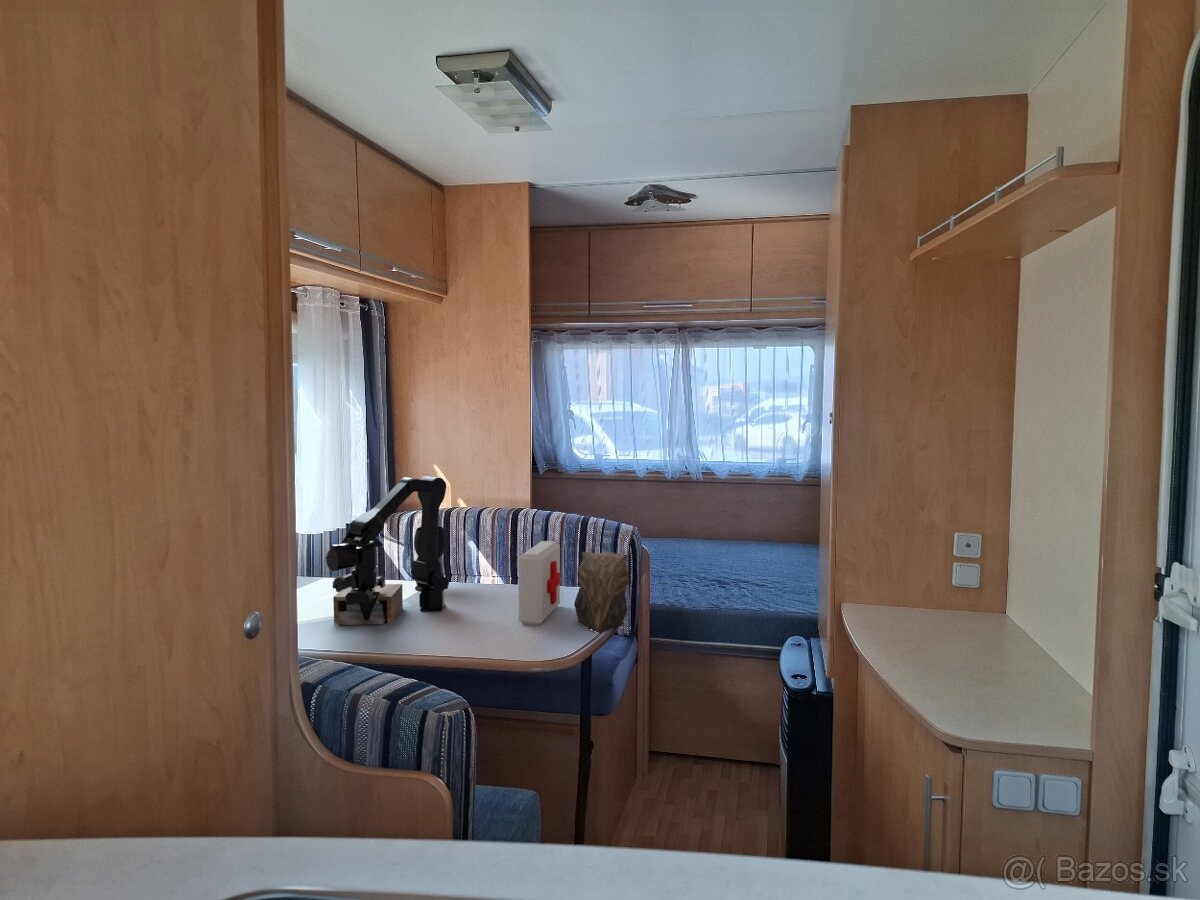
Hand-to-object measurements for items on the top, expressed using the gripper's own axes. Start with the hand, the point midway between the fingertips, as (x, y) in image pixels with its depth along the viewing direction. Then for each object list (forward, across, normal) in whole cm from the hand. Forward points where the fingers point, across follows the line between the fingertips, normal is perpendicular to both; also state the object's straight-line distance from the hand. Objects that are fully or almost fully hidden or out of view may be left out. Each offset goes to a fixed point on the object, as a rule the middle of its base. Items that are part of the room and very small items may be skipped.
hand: (366, 620), depth 208 cm
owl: (+2, +1, +64) cm, 64 cm away
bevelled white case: (+2, -10, +48) cm, 49 cm away
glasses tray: (+1, -8, -2) cm, 9 cm away
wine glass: (+2, -42, +10) cm, 43 cm away
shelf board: (+2, -8, -2) cm, 9 cm away
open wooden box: (+2, -11, -2) cm, 11 cm away
